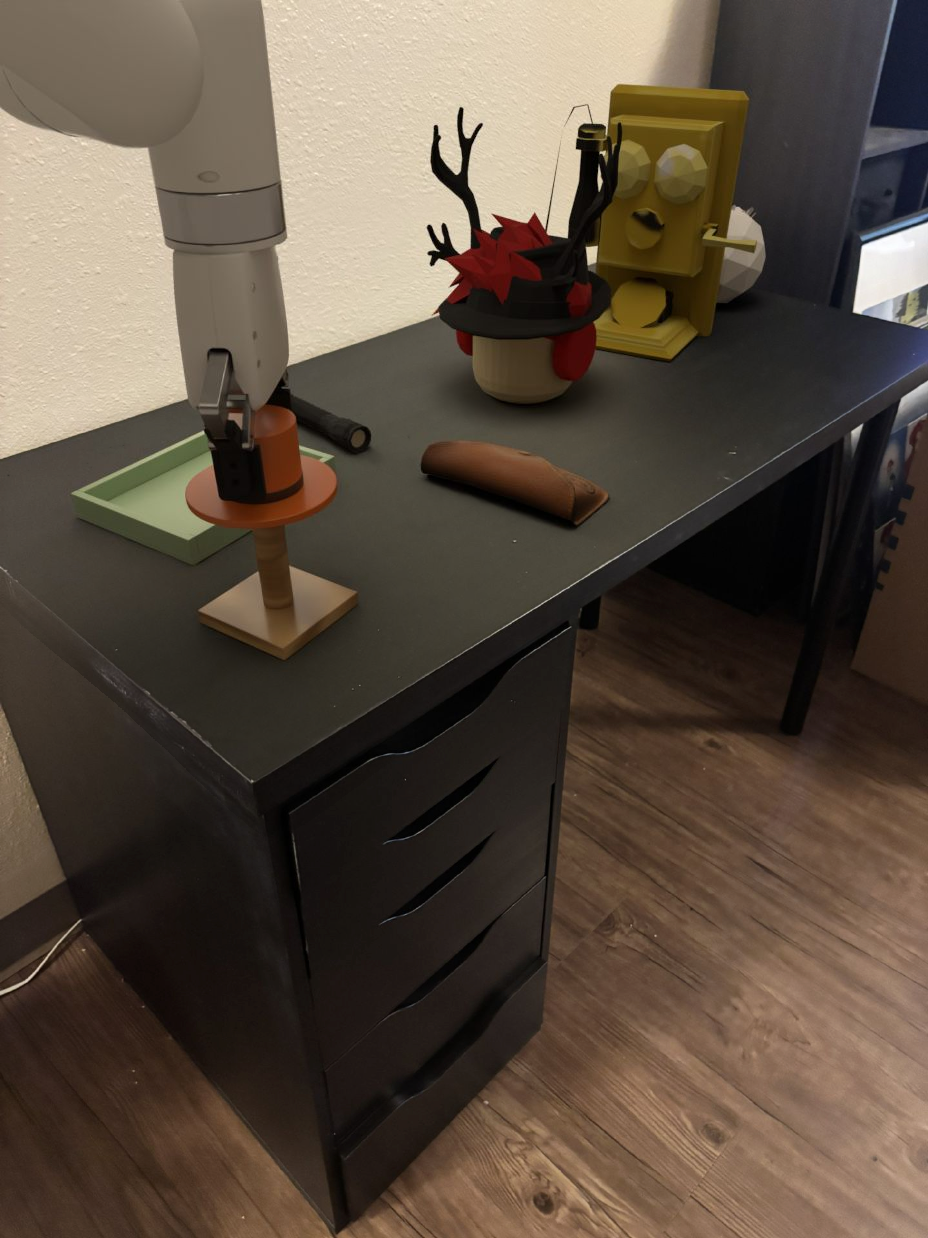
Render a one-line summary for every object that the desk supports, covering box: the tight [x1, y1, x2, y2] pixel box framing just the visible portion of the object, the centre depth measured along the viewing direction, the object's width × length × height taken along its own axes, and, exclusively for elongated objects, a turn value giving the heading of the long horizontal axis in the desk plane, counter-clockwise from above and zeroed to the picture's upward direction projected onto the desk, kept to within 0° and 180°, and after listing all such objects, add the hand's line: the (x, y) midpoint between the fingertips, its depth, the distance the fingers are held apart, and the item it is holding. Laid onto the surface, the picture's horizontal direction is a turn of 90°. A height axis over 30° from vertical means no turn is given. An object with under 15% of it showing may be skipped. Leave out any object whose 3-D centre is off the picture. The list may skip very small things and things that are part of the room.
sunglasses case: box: [420, 440, 610, 526], centre depth 90 cm, size 18×7×7 cm
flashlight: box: [282, 387, 372, 454], centre depth 102 cm, size 3×16×3 cm, turn 44°
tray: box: [70, 430, 337, 566], centre depth 89 cm, size 20×16×3 cm
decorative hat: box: [426, 106, 622, 405], centre depth 103 cm, size 23×21×30 cm
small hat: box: [185, 405, 339, 529], centre depth 66 cm, size 11×11×6 cm
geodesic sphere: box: [716, 204, 767, 304], centre depth 138 cm, size 15×14×14 cm
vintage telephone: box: [544, 83, 757, 363], centre depth 119 cm, size 31×14×30 cm, turn 61°
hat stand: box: [197, 525, 359, 661], centre depth 70 cm, size 9×9×11 cm
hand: (260, 467), depth 66 cm, fingers open, 9 cm apart
